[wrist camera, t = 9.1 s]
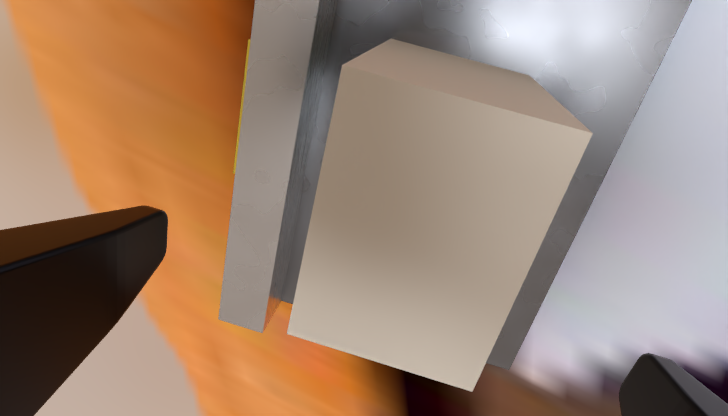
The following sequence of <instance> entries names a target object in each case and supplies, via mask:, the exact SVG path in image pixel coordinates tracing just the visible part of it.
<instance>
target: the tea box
mask: <svg viewBox="0 0 728 416" xmlns="http://www.w3.org/2000/svg"><path fill="white" fill-rule="evenodd" d="M592 134H593V133H592V132H591V131H590V130H589V129H588V128H587V127H585V126H584V125H583V124H582V123H581V122H580V121H579V120H578V119H577V118H576V117H575V116H573V115H572V114H571V113H570V112H569V111H568V110H567V109H566V108H565V107H564V106H562V105H561V104H560V103H559V102H558V101H557V100H556V99H555V98H554V97H553V96H552V95H550V94H549V93H548V92H547V91H546V90H545V89H544V88H543V87H542V86H541V85H539V84H538V83H537V82H536V81H535V80H534V79H533V78H532V77H531V76H529V75H526V74H522V73H518V72H515V71H511V70H507V69H503V68H500V67H496V66H492V65H488V64H485V63H481V62H477V61H473V60H470V59H466V58H462V57H458V56H455V55H451V54H447V53H443V52H440V51H436V50H432V49H428V48H425V47H421V46H417V45H413V44H410V43H406V42H402V41H398V40H395V39H389V40H387V41H386V42H384V43H382V44H380V45H378V46H376V47H375V48H373V49H371V50H369V51H367V52H365V53H363V54H362V55H360V56H358V57H356V58H354V59H352V60H350V61H349V62H347V63H345V64H343V65H342V68H341V73H340V78H339V83H338V88H337V93H336V98H335V102H334V107H333V112H332V117H331V122H330V127H329V132H328V136H327V141H326V146H325V151H324V156H323V161H322V166H321V170H320V175H319V180H318V185H317V190H316V195H315V200H314V205H313V209H312V214H311V219H310V224H309V229H308V234H307V239H306V243H305V248H304V253H303V258H302V263H301V268H300V273H299V277H298V282H297V287H296V292H295V297H294V302H293V307H292V312H291V316H290V321H289V326H288V331H287V334H289V335H292V336H295V337H299V338H302V339H305V340H308V341H311V342H315V343H318V344H321V345H324V346H327V347H331V348H334V349H337V350H340V351H343V352H347V353H350V354H353V355H356V356H359V357H363V358H366V359H369V360H372V361H375V362H379V363H382V364H385V365H388V366H391V367H395V368H398V369H401V370H404V371H407V372H411V373H414V374H417V375H420V376H423V377H427V378H430V379H433V380H436V381H439V382H443V383H446V384H449V385H452V386H455V387H459V388H462V389H465V390H468V391H471V392H472V391H473V389H474V387H475V385H476V383H477V381H478V379H479V376H480V374H481V372H482V370H483V368H484V366H485V363H486V361H487V359H488V357H489V355H490V353H491V351H492V348H493V346H494V344H495V342H496V340H497V338H498V336H499V333H500V331H501V329H502V327H503V325H504V323H505V321H506V318H507V316H508V314H509V312H510V310H511V308H512V306H513V303H514V301H515V299H516V297H517V295H518V293H519V291H520V288H521V286H522V284H523V282H524V280H525V278H526V276H527V273H528V271H529V269H530V267H531V265H532V263H533V261H534V258H535V256H536V254H537V252H538V250H539V248H540V246H541V243H542V241H543V239H544V237H545V235H546V233H547V231H548V228H549V226H550V224H551V222H552V220H553V218H554V216H555V213H556V211H557V209H558V207H559V205H560V203H561V201H562V198H563V196H564V194H565V192H566V190H567V188H568V186H569V183H570V181H571V179H572V177H573V175H574V173H575V171H576V168H577V166H578V164H579V162H580V160H581V158H582V156H583V153H584V151H585V149H586V147H587V145H588V143H589V141H590V138H591V136H592Z"/></svg>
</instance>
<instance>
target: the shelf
mask: <svg viewBox="0 0 728 416" xmlns="http://www.w3.org/2000/svg"><path fill="white" fill-rule="evenodd" d="M691 1H692V0H255V6H254V14H253V23H252V32H251V39H248V46H247V55H246V64H245V73H244V82H243V91H242V100H241V108H240V117H239V126H238V135H237V144H236V153H235V162H234V171H233V173H234V174H235V180H234V188H233V197H232V206H231V215H230V223H229V232H228V241H227V249H226V258H225V267H224V276H223V284H222V293H221V302H220V310H219V320H222V321H225V322H228V323H232V324H235V325H238V326H241V327H244V328H248V329H251V330H254V331H257V332H261V333H263V331H264V330H265V328H266V326H267V325H268V323H269V321H270V319H271V318H272V316H273V314H274V312H275V311H276V309H277V307H278V306H279V304H280V302H281V301H284V302H288V303H291V304H293V302H294V297H295V292H296V287H297V282H298V277H299V273H300V268H301V263H302V258H303V253H304V248H305V243H306V239H307V234H308V229H309V224H310V219H311V214H312V209H313V205H314V200H315V195H316V190H317V185H318V180H319V175H320V170H321V166H322V161H323V156H324V151H325V146H326V141H327V136H328V132H329V127H330V122H331V117H332V112H333V107H334V102H335V98H336V93H337V88H338V83H339V78H340V73H341V68H342V65H343V64H345V63H347V62H349V61H350V60H352V59H354V58H356V57H358V56H360V55H362V54H363V53H365V52H367V51H369V50H371V49H373V48H375V47H376V46H378V45H380V44H382V43H384V42H386V41H387V40H389V39H395V40H398V41H402V42H406V43H410V44H413V45H417V46H421V47H425V48H428V49H432V50H436V51H440V52H443V53H447V54H451V55H455V56H458V57H462V58H466V59H470V60H473V61H477V62H481V63H485V64H488V65H492V66H496V67H500V68H503V69H507V70H511V71H515V72H518V73H522V74H526V75H529V76H531V77H532V78H533V79H534V80H535V81H536V82H537V83H538V84H539V85H541V86H542V87H543V88H544V89H545V90H546V91H547V92H548V93H549V94H550V95H552V96H553V97H554V98H555V99H556V100H557V101H558V102H559V103H560V104H561V105H562V106H564V107H565V108H566V109H567V110H568V111H569V112H570V113H571V114H572V115H573V116H575V117H576V118H577V119H578V120H579V121H580V122H581V123H582V124H583V125H584V126H585V127H587V128H588V129H589V130H590V131H591V132H592V133H593V134H592V136H591V138H590V141H589V143H588V145H587V147H586V149H585V151H584V153H583V156H582V158H581V160H580V162H579V164H578V166H577V168H576V171H575V173H574V175H573V177H572V179H571V181H570V183H569V186H568V188H567V190H566V192H565V194H564V196H563V198H562V201H561V203H560V205H559V207H558V209H557V211H556V213H555V216H554V218H553V220H552V222H551V224H550V226H549V228H548V231H547V233H546V235H545V237H544V239H543V241H542V243H541V246H540V248H539V250H538V252H537V254H536V256H535V258H534V261H533V263H532V265H531V267H530V269H529V271H528V273H527V276H526V278H525V280H524V282H523V284H522V286H521V288H520V291H519V293H518V295H517V297H516V299H515V301H514V303H513V306H512V308H511V310H510V312H509V314H508V316H507V318H506V321H505V323H504V325H503V327H502V329H501V331H500V333H499V336H498V338H497V340H496V342H495V344H494V346H493V348H492V351H491V353H490V355H489V357H488V359H487V361H486V363H488V364H491V365H494V366H498V367H501V368H504V369H508V370H509V369H510V367H511V365H512V363H513V361H514V359H515V357H516V355H517V353H518V351H519V349H520V347H521V345H522V343H523V341H524V339H525V337H526V335H527V333H528V331H529V329H530V326H531V324H532V322H533V320H534V318H535V316H536V314H537V312H538V310H539V308H540V306H541V304H542V302H543V300H544V298H545V296H546V294H547V292H548V290H549V288H550V286H551V284H552V282H553V280H554V278H555V276H556V274H557V272H558V270H559V268H560V266H561V264H562V262H563V260H564V258H565V256H566V254H567V252H568V250H569V248H570V246H571V244H572V242H573V240H574V238H575V236H576V234H577V232H578V229H579V227H580V225H581V223H582V221H583V219H584V217H585V215H586V213H587V211H588V209H589V207H590V205H591V203H592V201H593V199H594V197H595V195H596V193H597V191H598V189H599V187H600V185H601V183H602V181H603V179H604V177H605V175H606V173H607V171H608V169H609V167H610V165H611V163H612V161H613V159H614V157H615V155H616V153H617V151H618V149H619V147H620V145H621V143H622V141H623V139H624V137H625V135H626V133H627V130H628V128H629V126H630V124H631V122H632V120H633V118H634V116H635V114H636V112H637V110H638V108H639V106H640V104H641V102H642V100H643V98H644V96H645V94H646V92H647V90H648V88H649V86H650V84H651V82H652V80H653V78H654V76H655V74H656V72H657V70H658V68H659V66H660V64H661V62H662V60H663V58H664V56H665V54H666V52H667V50H668V48H669V46H670V44H671V42H672V40H673V38H674V36H675V34H676V31H677V29H678V27H679V25H680V23H681V21H682V19H683V17H684V15H685V13H686V11H687V9H688V7H689V5H690V3H691Z"/></svg>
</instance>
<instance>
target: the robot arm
mask: <svg viewBox="0 0 728 416" xmlns="http://www.w3.org/2000/svg"><path fill="white" fill-rule="evenodd" d="M167 227H168V217H167V214H166V213H165V212H164V211H163V210H160V209H156V208H153V207H150V206H138V207H132V208H126V209H120V210H114V211H109V212H103V213H97V214H91V215H85V216H79V217H74V218H68V219H62V220H57V221H50V222H45V223H39V224H33V225H28V226H22V227H16V228H10V229H4V230H0V416H34V415H35V414H36V413H37V412H38V410H39V409H40V408H41V407H42V406H43V405H44V404H45V403H46V401H47V400H48V399H49V398H50V397H51V396H52V395H53V394H54V393H55V391H56V390H57V389H58V388H59V387H60V386H61V385H62V384H63V383H64V381H65V380H66V379H67V378H68V377H69V376H70V375H71V374H72V373H73V371H74V370H75V369H76V368H77V367H78V366H79V365H80V364H81V363H82V362H83V360H84V359H85V358H86V357H87V356H88V355H89V354H90V352H91V351H92V350H93V349H94V348H95V347H96V346H97V345H98V344H99V342H100V341H101V340H102V339H103V338H104V337H105V336H106V335H107V334H108V332H109V331H110V330H111V329H112V328H113V327H114V326H115V324H116V323H117V322H118V321H119V319H120V318H121V317H122V316H123V314H124V313H125V311H126V310H127V309H128V308H129V306H130V305H131V303H132V302H133V301H134V299H135V298H136V296H137V295H138V294H139V292H140V291H141V289H142V288H143V287H144V285H145V284H146V283H147V281H148V280H149V278H150V277H151V276H152V274H153V273H154V271H155V270H156V269H157V267H158V266H159V264H160V263H161V262H162V260H163V258H164V256H165V253H166V248H167ZM619 401H620V408H621V414H622V416H728V404H727V403H725V402H724V401H723V400H722V399H720V398H719V397H718V396H717V395H715V394H714V393H713V392H711V391H710V390H709V389H708V388H706V387H705V386H704V385H703V384H701V383H700V382H699V381H697V380H696V379H695V378H694V377H692V376H691V375H690V374H689V373H687V372H686V371H685V370H683V369H682V368H681V367H680V366H678V365H677V364H676V363H675V362H673V361H672V360H670V359H668V358H664V357H661V356H657V355H654V354H650V353H646V354H643V355H642V356H640V357H639V359H638V360H637V362H636V363H635V365H634V366H633V368H632V369H631V371H630V372H629V374H628V375H627V377H626V379H625V380H624V382H623V383H622V385H621V388H620V392H619Z"/></svg>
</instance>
